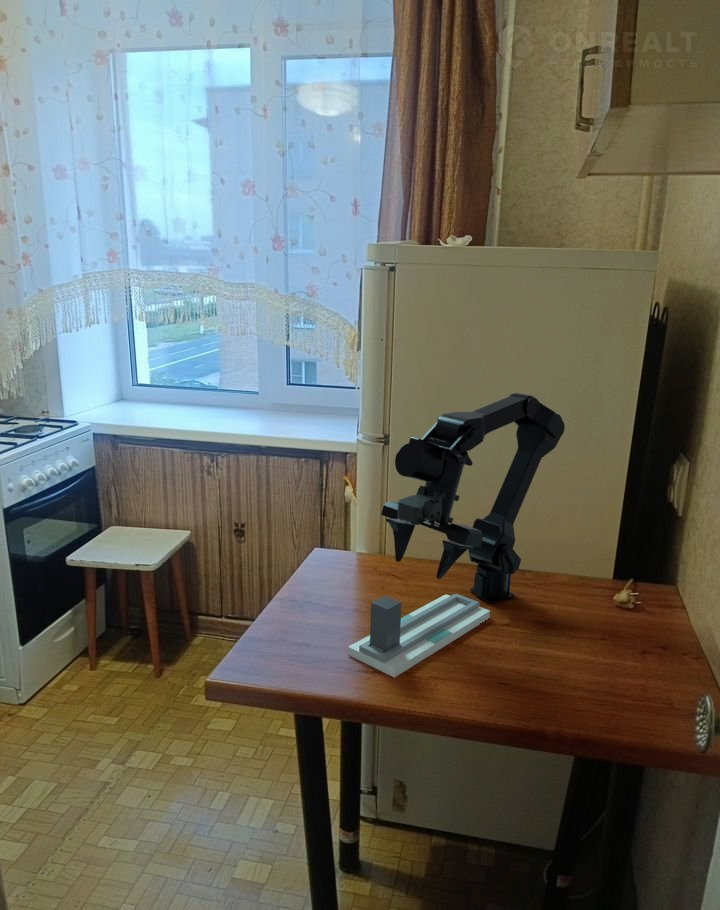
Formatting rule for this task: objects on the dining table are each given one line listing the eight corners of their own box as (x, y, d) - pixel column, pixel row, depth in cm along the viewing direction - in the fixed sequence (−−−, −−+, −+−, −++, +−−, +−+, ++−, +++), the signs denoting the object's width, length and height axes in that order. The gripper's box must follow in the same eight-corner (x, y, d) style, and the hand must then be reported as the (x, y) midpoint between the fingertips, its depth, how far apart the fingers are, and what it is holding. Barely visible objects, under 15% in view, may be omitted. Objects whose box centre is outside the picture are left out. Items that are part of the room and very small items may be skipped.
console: (445, 601, 142) (446, 589, 141) (489, 618, 135) (490, 605, 135) (347, 654, 121) (348, 641, 121) (394, 677, 115) (394, 663, 114)
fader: (384, 640, 123) (385, 595, 121) (400, 648, 121) (402, 601, 119) (368, 649, 120) (370, 602, 118) (384, 657, 118) (386, 609, 116)
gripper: (374, 466, 128) (350, 551, 128) (461, 494, 116) (434, 587, 116) (410, 474, 136) (388, 554, 137) (495, 500, 124) (470, 588, 125)
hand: (417, 569), depth 129 cm, fingers open, 9 cm apart
